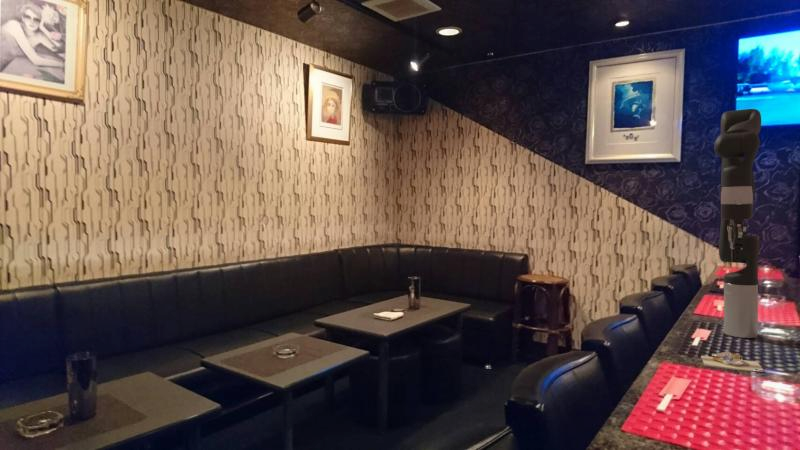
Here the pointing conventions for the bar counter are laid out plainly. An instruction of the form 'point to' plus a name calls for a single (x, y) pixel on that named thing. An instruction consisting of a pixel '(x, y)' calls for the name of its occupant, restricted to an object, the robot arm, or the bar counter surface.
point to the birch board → (731, 364)
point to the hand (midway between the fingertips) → (736, 262)
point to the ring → (727, 357)
